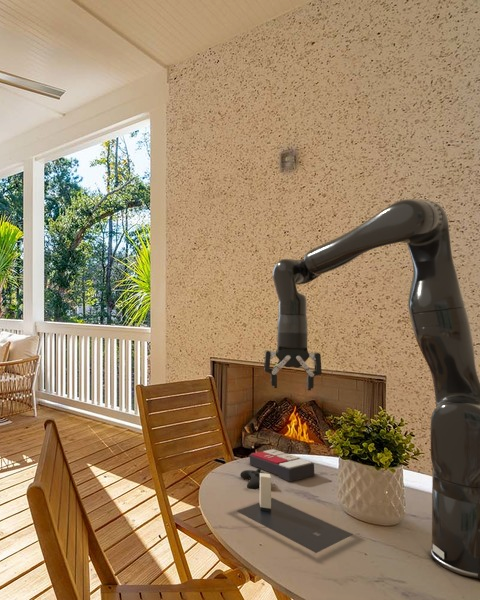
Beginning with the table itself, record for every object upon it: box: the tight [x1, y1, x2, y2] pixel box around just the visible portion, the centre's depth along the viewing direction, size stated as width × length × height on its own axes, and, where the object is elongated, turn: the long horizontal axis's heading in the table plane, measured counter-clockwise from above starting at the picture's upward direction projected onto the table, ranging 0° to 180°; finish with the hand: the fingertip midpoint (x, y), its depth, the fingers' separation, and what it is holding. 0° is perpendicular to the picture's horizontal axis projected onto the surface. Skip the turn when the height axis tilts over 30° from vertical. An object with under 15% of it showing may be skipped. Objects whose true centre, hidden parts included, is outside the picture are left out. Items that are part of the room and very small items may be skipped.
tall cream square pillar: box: [259, 472, 272, 512], centre depth 106 cm, size 2×2×8 cm
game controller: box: [239, 468, 265, 490], centre depth 123 cm, size 10×5×6 cm
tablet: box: [236, 497, 354, 554], centre depth 100 cm, size 22×16×1 cm
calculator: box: [249, 448, 315, 482], centre depth 133 cm, size 11×4×15 cm
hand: (291, 388), depth 120 cm, fingers open, 8 cm apart
